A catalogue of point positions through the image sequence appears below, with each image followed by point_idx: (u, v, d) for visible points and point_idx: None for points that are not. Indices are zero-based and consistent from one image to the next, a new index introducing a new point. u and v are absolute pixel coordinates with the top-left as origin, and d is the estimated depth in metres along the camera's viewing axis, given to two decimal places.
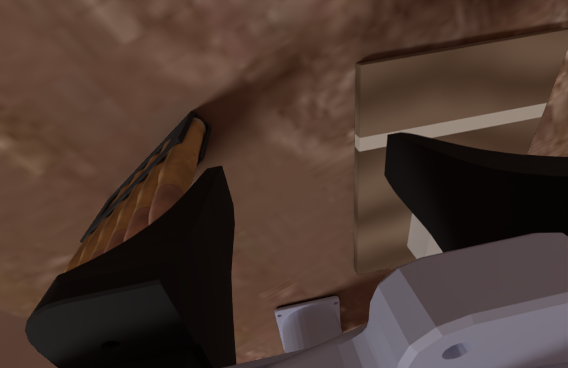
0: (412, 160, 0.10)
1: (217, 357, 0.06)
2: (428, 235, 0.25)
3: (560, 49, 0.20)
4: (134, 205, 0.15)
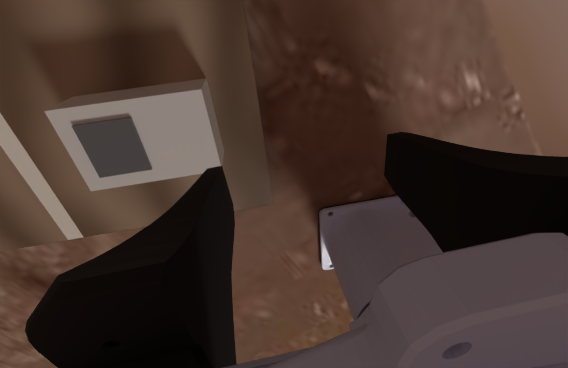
0: (412, 160, 0.10)
1: (217, 357, 0.06)
2: (156, 179, 0.17)
3: None
4: None
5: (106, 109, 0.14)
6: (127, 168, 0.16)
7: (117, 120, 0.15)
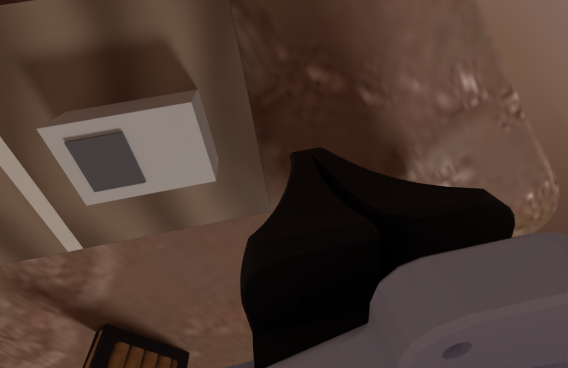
0: None
1: None
2: (150, 191, 0.17)
3: None
4: None
5: (98, 125, 0.14)
6: (121, 182, 0.16)
7: (109, 135, 0.15)
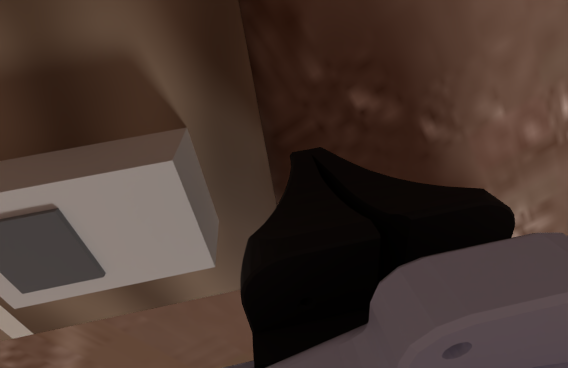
0: None
1: None
2: (115, 284, 0.11)
3: None
4: None
5: (14, 201, 0.09)
6: (64, 278, 0.10)
7: (36, 214, 0.09)
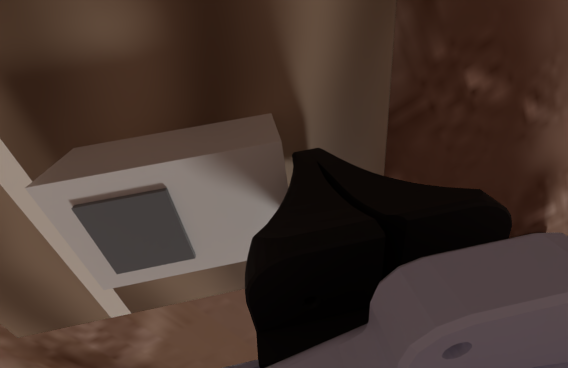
0: None
1: None
2: (199, 266, 0.11)
3: None
4: None
5: (128, 179, 0.09)
6: (159, 259, 0.10)
7: (145, 193, 0.09)
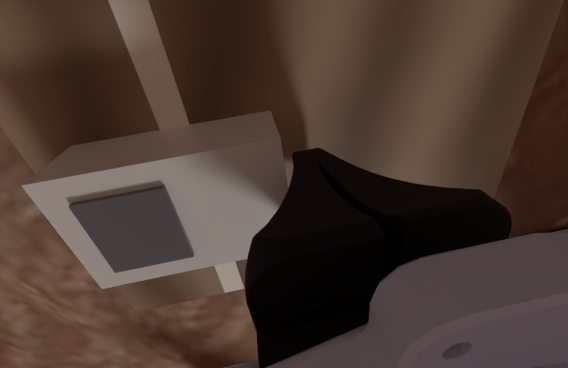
0: None
1: None
2: (198, 265, 0.11)
3: None
4: None
5: (125, 177, 0.09)
6: (157, 257, 0.10)
7: (142, 191, 0.09)
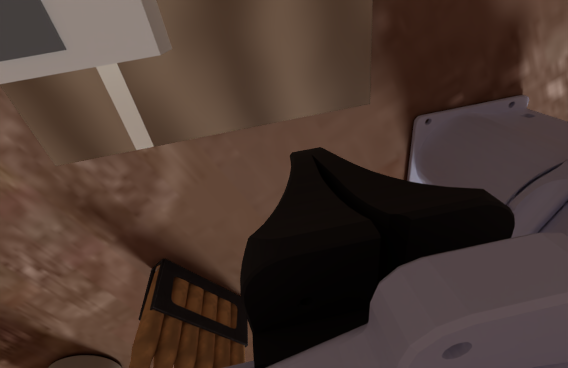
0: None
1: None
2: (76, 69, 0.13)
3: None
4: None
5: None
6: (31, 47, 0.12)
7: None
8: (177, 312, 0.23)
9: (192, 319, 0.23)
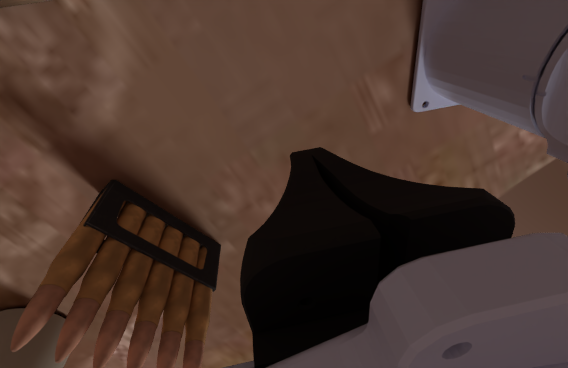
0: None
1: None
2: None
3: None
4: (113, 291, 0.17)
5: None
6: None
7: None
8: (122, 235, 0.18)
9: (142, 248, 0.19)
